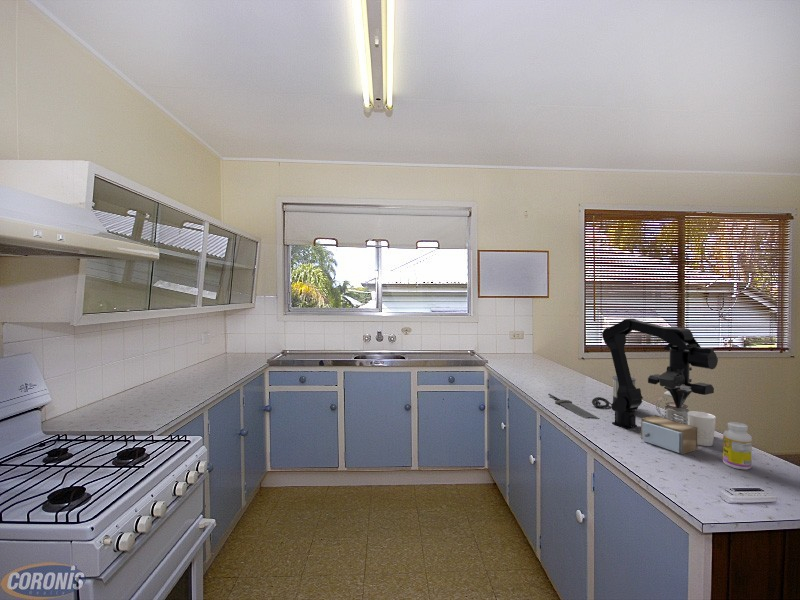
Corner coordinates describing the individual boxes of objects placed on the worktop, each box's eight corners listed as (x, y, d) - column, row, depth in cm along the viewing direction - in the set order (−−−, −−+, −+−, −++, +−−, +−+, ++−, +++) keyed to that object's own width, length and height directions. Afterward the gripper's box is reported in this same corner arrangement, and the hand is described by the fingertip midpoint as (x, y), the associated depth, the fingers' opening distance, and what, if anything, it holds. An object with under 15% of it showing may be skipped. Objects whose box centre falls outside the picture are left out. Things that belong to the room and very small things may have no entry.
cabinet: (641, 439, 140) (641, 418, 140) (655, 435, 143) (655, 415, 143) (682, 453, 127) (683, 431, 127) (697, 449, 131) (697, 427, 130)
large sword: (585, 422, 161) (585, 417, 161) (542, 396, 196) (542, 392, 196) (601, 420, 162) (601, 416, 162) (555, 395, 197) (555, 391, 197)
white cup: (703, 448, 132) (704, 419, 132) (681, 439, 140) (681, 412, 139) (720, 445, 134) (721, 417, 134) (698, 437, 142) (698, 410, 141)
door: (640, 440, 137) (640, 421, 137) (643, 439, 138) (644, 420, 138) (680, 454, 126) (680, 433, 126) (683, 453, 127) (684, 432, 127)
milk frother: (640, 414, 168) (640, 380, 168) (603, 413, 169) (604, 380, 168) (622, 404, 183) (622, 373, 182) (588, 404, 183) (588, 373, 183)
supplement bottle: (722, 458, 124) (723, 419, 123) (750, 464, 119) (751, 423, 119) (722, 466, 118) (723, 424, 118) (752, 472, 114) (752, 429, 114)
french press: (697, 435, 144) (698, 368, 143) (662, 432, 146) (663, 367, 145) (683, 426, 153) (684, 363, 153) (651, 424, 156) (652, 362, 155)
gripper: (638, 361, 140) (637, 404, 141) (695, 371, 124) (694, 419, 124) (657, 359, 145) (657, 400, 146) (715, 368, 128) (714, 414, 129)
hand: (678, 408), depth 136 cm, fingers closed
